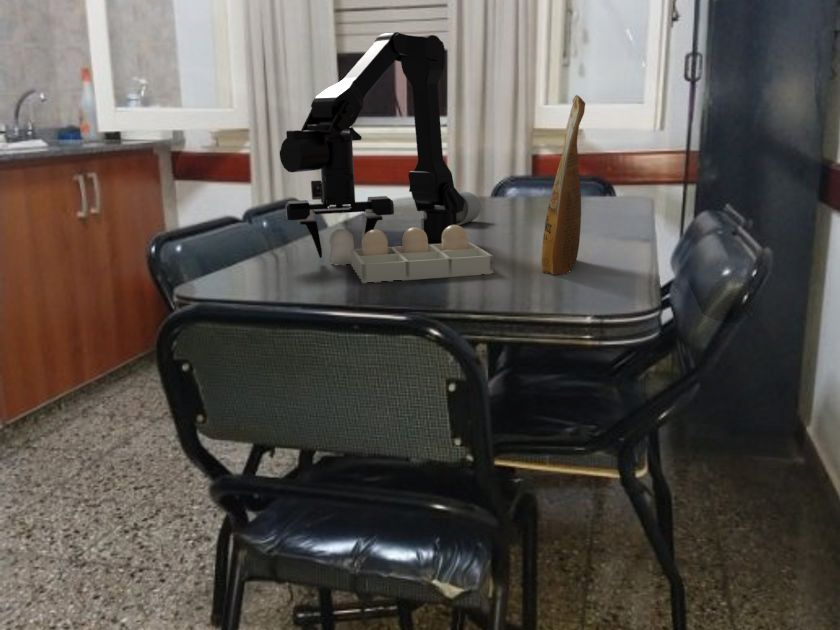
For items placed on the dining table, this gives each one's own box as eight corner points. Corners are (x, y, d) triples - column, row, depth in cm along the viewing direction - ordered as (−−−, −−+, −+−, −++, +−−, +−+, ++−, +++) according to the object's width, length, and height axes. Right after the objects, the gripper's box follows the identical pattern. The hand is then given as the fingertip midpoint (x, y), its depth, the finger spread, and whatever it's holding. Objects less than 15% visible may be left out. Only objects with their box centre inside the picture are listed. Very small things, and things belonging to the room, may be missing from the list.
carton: (469, 258, 142) (469, 220, 140) (493, 273, 128) (493, 232, 126) (351, 266, 138) (349, 227, 136) (362, 283, 124) (360, 240, 122)
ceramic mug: (483, 221, 187) (482, 189, 185) (469, 226, 180) (468, 192, 178) (443, 220, 192) (442, 189, 190) (428, 225, 185) (427, 192, 183)
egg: (353, 260, 144) (351, 226, 142) (356, 264, 140) (354, 230, 138) (329, 261, 143) (327, 228, 141) (331, 266, 139) (329, 231, 137)
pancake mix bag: (588, 256, 141) (592, 94, 134) (579, 278, 123) (583, 93, 116) (550, 255, 143) (553, 96, 136) (536, 277, 125) (538, 95, 118)
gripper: (382, 163, 146) (385, 245, 150) (281, 167, 143) (287, 251, 147) (392, 167, 136) (396, 255, 140) (284, 171, 132) (290, 262, 136)
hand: (342, 255), depth 141 cm, fingers open, 7 cm apart
